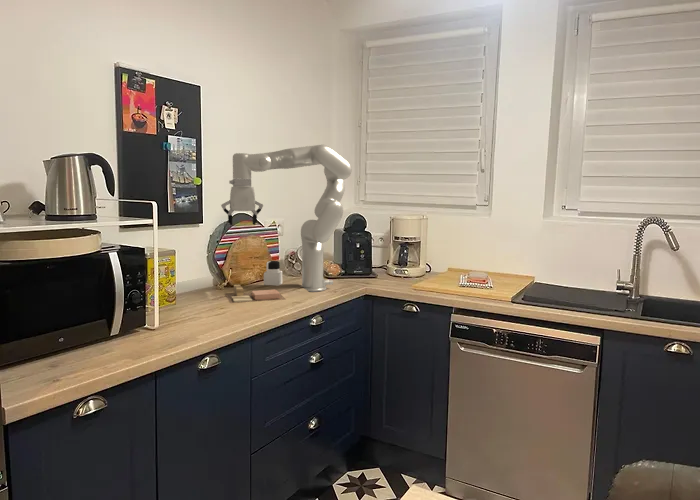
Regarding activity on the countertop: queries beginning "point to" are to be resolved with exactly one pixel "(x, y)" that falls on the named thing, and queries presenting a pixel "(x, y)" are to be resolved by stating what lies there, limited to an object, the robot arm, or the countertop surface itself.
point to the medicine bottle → (273, 273)
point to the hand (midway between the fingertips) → (242, 224)
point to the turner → (240, 295)
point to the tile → (265, 294)
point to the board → (251, 298)
